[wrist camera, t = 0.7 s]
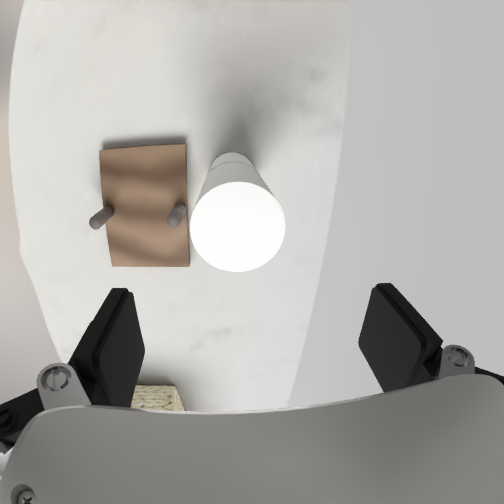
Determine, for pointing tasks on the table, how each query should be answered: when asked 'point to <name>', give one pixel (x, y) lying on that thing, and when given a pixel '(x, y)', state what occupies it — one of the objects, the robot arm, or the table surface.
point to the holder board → (145, 205)
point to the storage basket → (157, 398)
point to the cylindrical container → (236, 216)
